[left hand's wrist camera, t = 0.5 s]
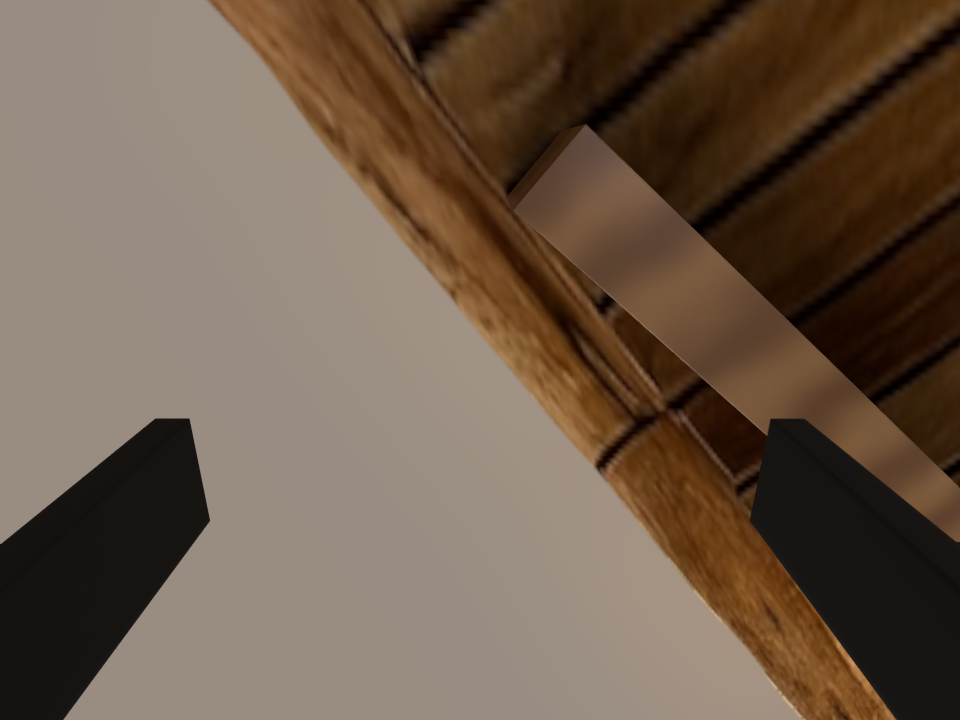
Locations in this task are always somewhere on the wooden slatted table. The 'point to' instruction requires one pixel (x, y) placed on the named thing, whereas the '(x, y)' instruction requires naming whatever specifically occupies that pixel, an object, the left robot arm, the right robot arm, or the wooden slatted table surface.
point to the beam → (712, 313)
